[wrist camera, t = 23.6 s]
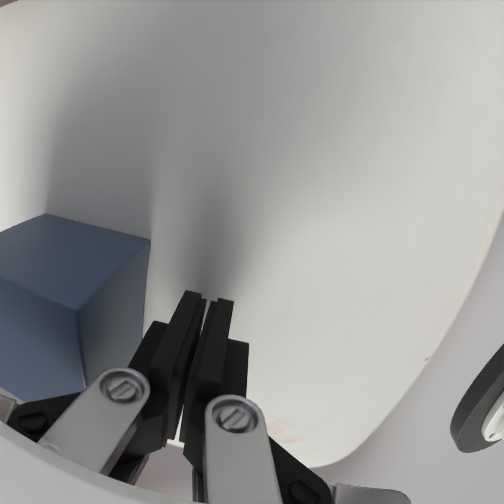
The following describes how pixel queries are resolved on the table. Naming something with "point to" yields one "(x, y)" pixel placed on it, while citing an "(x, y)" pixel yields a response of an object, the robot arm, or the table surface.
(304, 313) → the table surface
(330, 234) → the table surface
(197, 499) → the robot arm
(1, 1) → the walnut block
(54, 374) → the slate-blue block
